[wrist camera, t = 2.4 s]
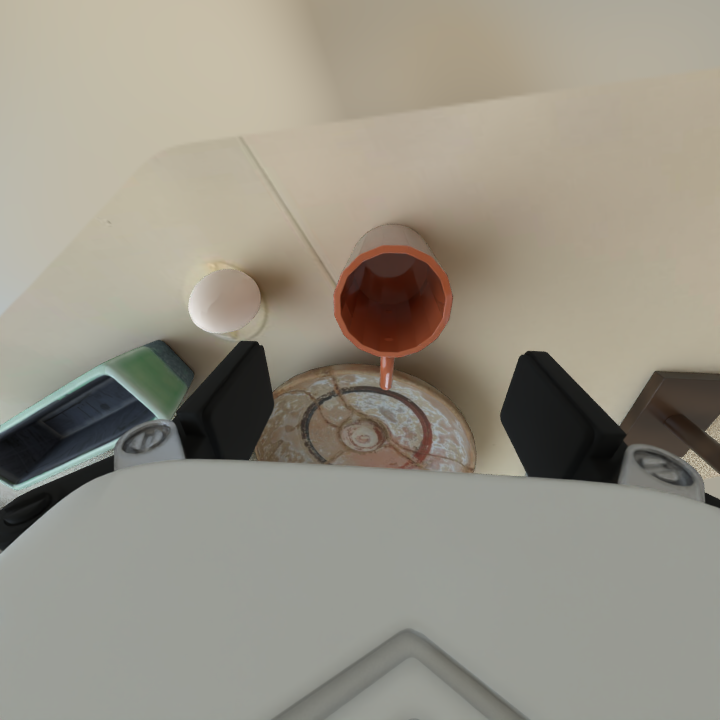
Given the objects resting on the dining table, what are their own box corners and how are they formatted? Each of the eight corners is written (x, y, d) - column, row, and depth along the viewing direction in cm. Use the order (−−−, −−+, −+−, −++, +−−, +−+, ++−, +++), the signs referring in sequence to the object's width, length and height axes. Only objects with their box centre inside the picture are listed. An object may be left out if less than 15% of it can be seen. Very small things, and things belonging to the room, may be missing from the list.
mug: (349, 223, 23) (331, 244, 15) (436, 224, 23) (462, 246, 15) (351, 342, 29) (338, 401, 21) (421, 345, 28) (433, 406, 20)
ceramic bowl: (438, 312, 26) (448, 337, 22) (481, 475, 37) (493, 513, 33) (228, 377, 32) (204, 407, 28) (319, 501, 43) (311, 537, 39)
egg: (209, 281, 26) (154, 312, 20) (243, 249, 25) (194, 272, 18) (248, 320, 28) (208, 360, 22) (281, 293, 26) (248, 327, 20)
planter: (72, 446, 41) (16, 493, 35) (22, 411, 38) (-49, 455, 32) (212, 377, 32) (171, 423, 26) (162, 323, 29) (102, 362, 23)
